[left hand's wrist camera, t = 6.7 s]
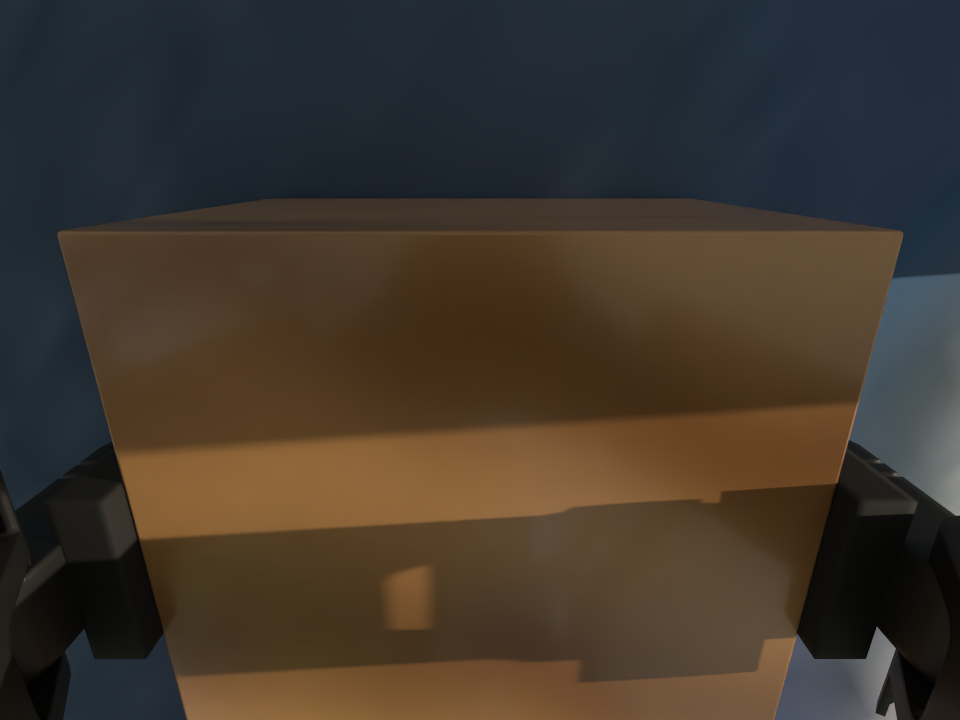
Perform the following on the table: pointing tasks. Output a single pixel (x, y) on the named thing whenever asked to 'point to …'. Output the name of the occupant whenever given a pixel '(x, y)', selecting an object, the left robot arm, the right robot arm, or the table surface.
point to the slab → (480, 447)
